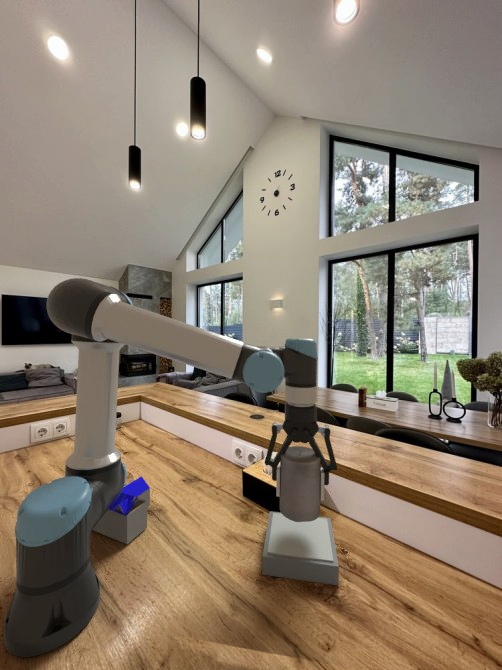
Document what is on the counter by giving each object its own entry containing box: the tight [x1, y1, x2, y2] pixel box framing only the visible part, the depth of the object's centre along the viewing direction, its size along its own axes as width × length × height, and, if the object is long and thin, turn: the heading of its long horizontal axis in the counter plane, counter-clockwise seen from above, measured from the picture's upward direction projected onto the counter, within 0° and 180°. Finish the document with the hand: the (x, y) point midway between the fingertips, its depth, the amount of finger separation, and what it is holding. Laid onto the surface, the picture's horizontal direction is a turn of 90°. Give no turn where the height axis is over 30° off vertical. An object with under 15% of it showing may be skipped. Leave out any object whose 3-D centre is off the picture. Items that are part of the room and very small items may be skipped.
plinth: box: [261, 511, 340, 586], centre depth 70 cm, size 16×16×4 cm
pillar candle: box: [279, 445, 322, 522], centre depth 70 cm, size 10×10×15 cm
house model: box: [92, 476, 151, 545], centre depth 83 cm, size 25×15×10 cm, turn 66°
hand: (299, 495), depth 70 cm, fingers closed on pillar candle, 10 cm apart
